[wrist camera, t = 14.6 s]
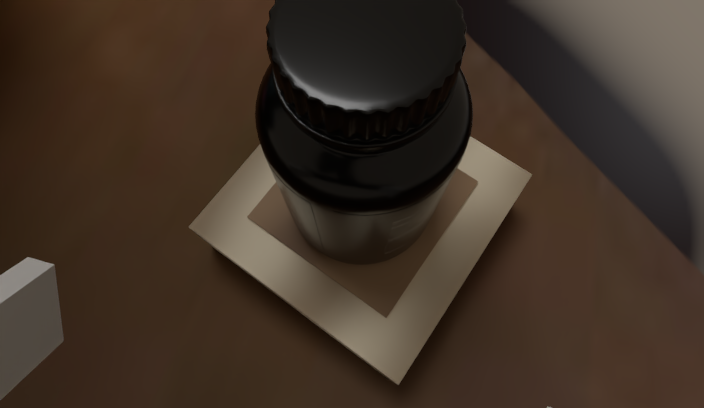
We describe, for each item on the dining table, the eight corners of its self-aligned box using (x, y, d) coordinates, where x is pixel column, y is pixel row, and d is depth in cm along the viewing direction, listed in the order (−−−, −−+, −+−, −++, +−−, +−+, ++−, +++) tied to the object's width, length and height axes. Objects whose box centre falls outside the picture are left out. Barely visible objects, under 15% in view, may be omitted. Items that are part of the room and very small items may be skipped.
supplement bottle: (415, 125, 23) (479, -97, 12) (444, 256, 21) (556, 136, 10) (281, 143, 23) (215, -69, 12) (296, 278, 21) (233, 180, 9)
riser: (211, 246, 25) (187, 225, 21) (338, 94, 29) (337, 52, 25) (390, 380, 23) (399, 385, 19) (505, 200, 27) (533, 173, 23)
